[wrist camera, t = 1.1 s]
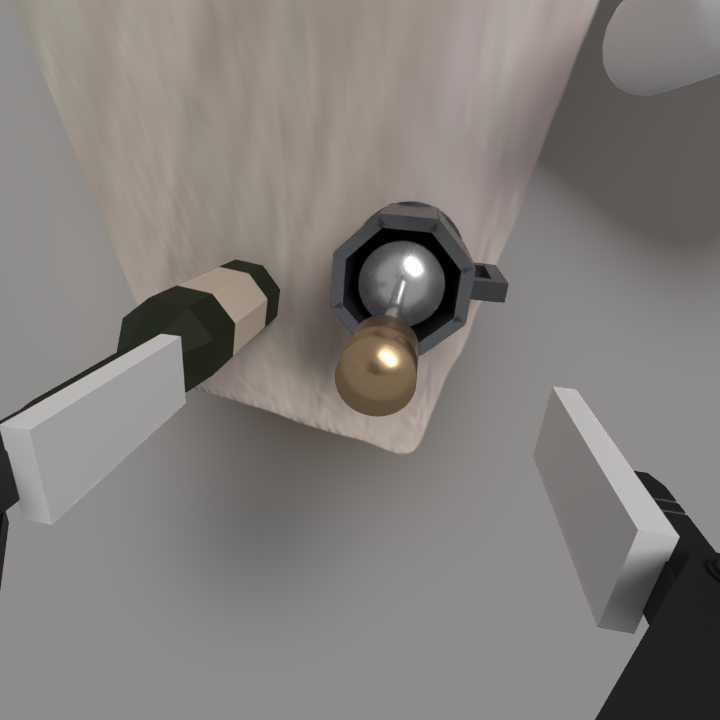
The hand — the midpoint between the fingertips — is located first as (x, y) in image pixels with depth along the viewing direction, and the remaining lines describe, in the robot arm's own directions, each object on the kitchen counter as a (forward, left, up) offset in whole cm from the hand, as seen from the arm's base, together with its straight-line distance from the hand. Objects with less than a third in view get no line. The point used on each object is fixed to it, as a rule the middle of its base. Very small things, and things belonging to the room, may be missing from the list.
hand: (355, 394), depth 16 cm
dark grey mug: (+1, +2, -34) cm, 34 cm away
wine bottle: (+7, -18, -34) cm, 39 cm away
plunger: (+1, 0, -23) cm, 23 cm away
